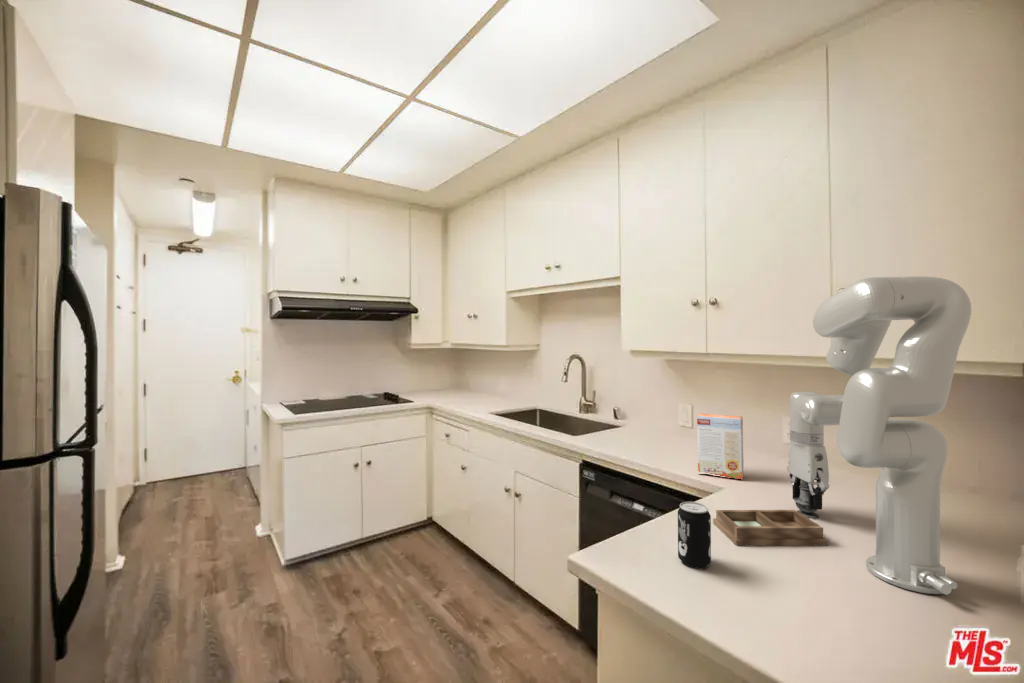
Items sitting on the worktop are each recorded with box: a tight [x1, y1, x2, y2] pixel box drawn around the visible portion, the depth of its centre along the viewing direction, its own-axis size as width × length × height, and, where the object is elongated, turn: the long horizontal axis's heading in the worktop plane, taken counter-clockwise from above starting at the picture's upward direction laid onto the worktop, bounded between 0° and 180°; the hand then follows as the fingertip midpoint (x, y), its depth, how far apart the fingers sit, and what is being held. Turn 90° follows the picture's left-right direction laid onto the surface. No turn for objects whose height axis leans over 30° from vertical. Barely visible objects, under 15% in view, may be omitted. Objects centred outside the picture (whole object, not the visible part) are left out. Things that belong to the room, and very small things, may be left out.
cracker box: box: [696, 413, 744, 481], centre depth 149 cm, size 14×6×21 cm, turn 58°
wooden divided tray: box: [712, 509, 829, 546], centre depth 105 cm, size 21×12×4 cm, turn 89°
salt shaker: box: [793, 479, 820, 520], centre depth 116 cm, size 6×6×12 cm
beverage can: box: [677, 501, 712, 569], centre depth 93 cm, size 7×7×12 cm
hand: (806, 503), depth 116 cm, fingers closed on salt shaker, 5 cm apart
